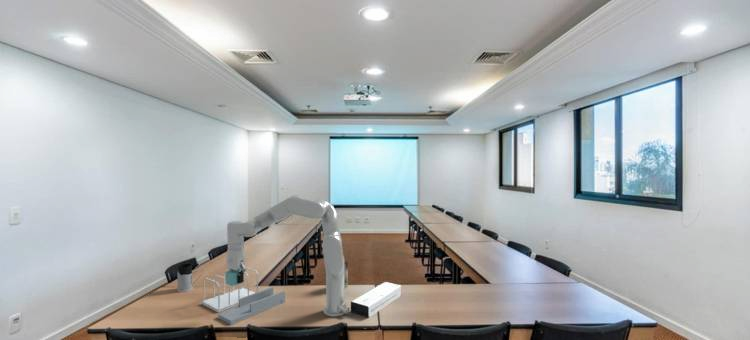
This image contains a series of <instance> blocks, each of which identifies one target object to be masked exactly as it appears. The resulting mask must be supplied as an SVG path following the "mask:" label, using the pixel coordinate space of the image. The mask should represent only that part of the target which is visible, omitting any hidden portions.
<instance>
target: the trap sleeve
mask: <svg viewBox="0 0 750 340" xmlns="http://www.w3.org/2000/svg"><path fill="white" fill-rule="evenodd" d="M285 295H286V293H285V291H284V290H282V291H279V292H277V293H274V286H270V287H268V288H265V289H263V290H258V292H257V291H256V292H255V293H254V294H251V295H248V296H246V297H243V298H240V299H239V305H237V306H234V307H232V308H229V309H227V310H224V311H222V312H219V313H218V314H217V319H219V320H221V321H223V322H224V323H227V324H229V325H231V326H232V325H234V324H238V323H239V322H241V321H244V320H246V319H249V318H251V317H253V316H256V315H258V314H260V313H263V312H265V311H267V310H269V309H272V308H273V307H276V306H279V305H281V304H283V303H285V302H286V298H285Z"/></svg>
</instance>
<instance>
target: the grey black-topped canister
mask: <svg viewBox="0 0 750 340" xmlns="http://www.w3.org/2000/svg"><path fill="white" fill-rule="evenodd" d="M192 267H193V265H192V264H191V263H184V264H180V265H178V266H177V274H176V275H177V290H176V292H177V293H187V292H186V291H188V292H190V290H191V291H192V290H194V287H193V286H194V285H195V283H196V282H197V281H198V280H199V279H200V278H201V277H202V274H203V272H204V271H203V270H204V268H203V266H202V265H200V267H201V274H200V276H198V278H197V279H195V281H194V282H193V274H196V269H197V268H198V267H199V265H197V266H196V267H195V268H194V271H193V269H192Z"/></svg>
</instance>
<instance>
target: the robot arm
mask: <svg viewBox="0 0 750 340" xmlns="http://www.w3.org/2000/svg"><path fill="white" fill-rule="evenodd" d="M292 215H296V216H300V217H303V218H309V219H314V220H318V219H321V224H322V225H321V227H322V234H323V239H322V244H321V245H322V252H323V259H324V260H323V261H324V269H325V286H326V287H325V292H326V293H325V297H326V298H325V299H326V302H325V303H326V304H325V305H326V306H325V307H324V308H323V310H322V311H323V314H324V315H325V316H328V317H341V316H343V315H345V314H349V311H350V307H349V306H347V303H346V302H345V288H344V261H345V256H344V252H343V241H342V237H341V232H340V224H339V220H338V213H337V211H336V209H335V207H334V206H333V205H332V203H330V202H328V201H326V200H325V199H320V198H319V199H318V198H317V199H315V200H309V199H306V198H303V197H302V196H301V195H299V194H293V195H291V196H289V197H287V198H286V199H284V200H282V201H281V202H279V203H277V204H275V205H273V206H271V207H270V208H268V209H267V210H266V211H264V212H262V213H259V214H258V215H257V216H255V217H253V218H251V219H249V220H247V221H246V222H242V221H240V220H235V221H230V222H228V223H227V226H226V229H227V233H226V236H227V251H226V268H228V269H229V270H228V271H230V270H237V273H238V275H237V283H238V284H239V283H241V284H242V282H245V280H244V275H245V274H244V272H245V273H246V271H247V268H246V267H247V266H246V258H245V257H246V255H245V249H244V248H245V241H244V240H245V238H244V237H246V238H250V237H251V238H252V237H254V236H255V235H256V234H257V233H258V232H260V231H262V230H263V229H266V228H267V227H269V226H271V225H273V224H277V223H279V222H282V221H283V220H285V219H287V218H289V217H291V216H292ZM239 270H241V271H239Z"/></svg>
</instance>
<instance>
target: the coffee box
mask: <svg viewBox="0 0 750 340" xmlns="http://www.w3.org/2000/svg"><path fill="white" fill-rule="evenodd" d="M348 263H349V262H348V261H347V260H344V289H346V288H348V287H349V277H348V276H349V273H348V272H349V271H348V270H349V269H348V268H349V267H348V265H349V264H348Z"/></svg>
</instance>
